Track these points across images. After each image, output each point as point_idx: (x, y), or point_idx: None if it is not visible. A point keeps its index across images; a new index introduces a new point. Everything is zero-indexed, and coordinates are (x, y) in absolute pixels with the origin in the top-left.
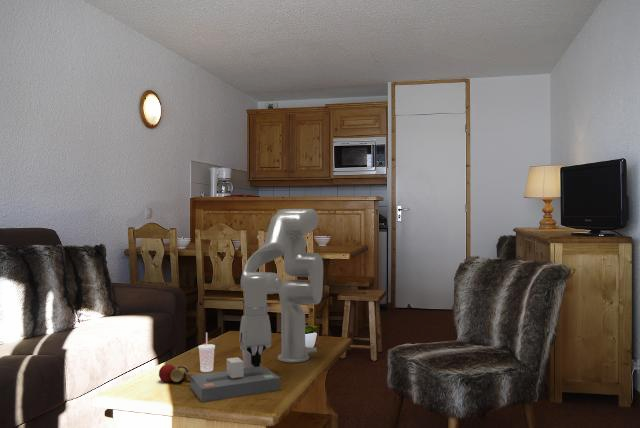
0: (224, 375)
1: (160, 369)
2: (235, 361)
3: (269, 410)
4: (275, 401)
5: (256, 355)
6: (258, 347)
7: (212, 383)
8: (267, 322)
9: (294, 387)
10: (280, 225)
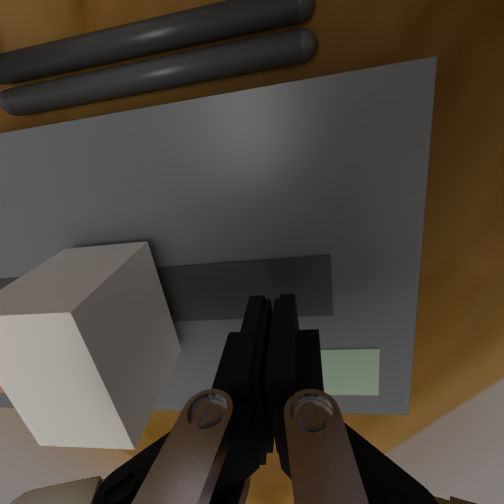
0: (59, 246)
1: None
2: (65, 424)
3: (267, 495)
4: None
5: (263, 463)
6: (319, 495)
7: None
8: None
9: (481, 350)
10: None
